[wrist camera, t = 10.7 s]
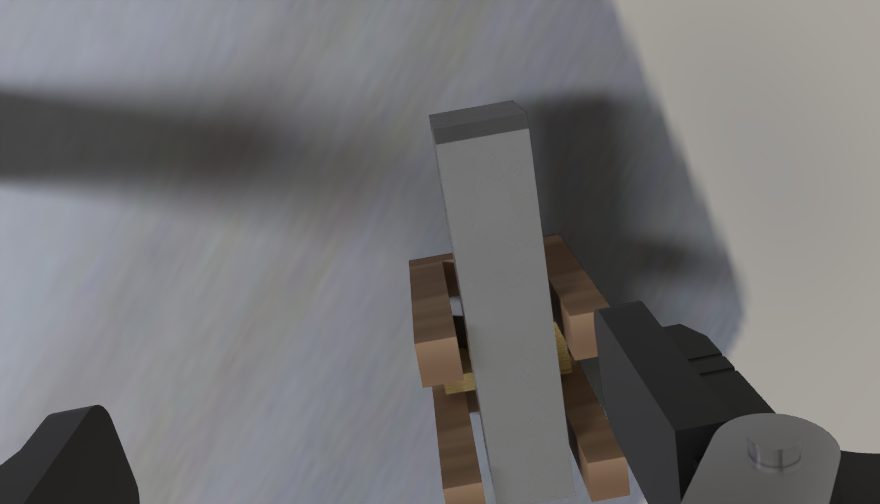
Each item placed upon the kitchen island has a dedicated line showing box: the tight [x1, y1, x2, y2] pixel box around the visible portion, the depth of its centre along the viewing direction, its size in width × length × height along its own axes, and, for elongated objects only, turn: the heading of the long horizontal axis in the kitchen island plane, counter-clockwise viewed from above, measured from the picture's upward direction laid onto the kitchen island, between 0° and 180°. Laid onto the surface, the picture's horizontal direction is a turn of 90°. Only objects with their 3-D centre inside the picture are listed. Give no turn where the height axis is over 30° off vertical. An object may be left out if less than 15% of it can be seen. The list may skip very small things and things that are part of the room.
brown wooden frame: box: [409, 234, 630, 504], centre depth 36 cm, size 9×8×10 cm
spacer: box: [444, 318, 572, 395], centre depth 40 cm, size 3×7×3 cm
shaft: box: [429, 100, 576, 504], centre depth 33 cm, size 18×4×4 cm, turn 10°
